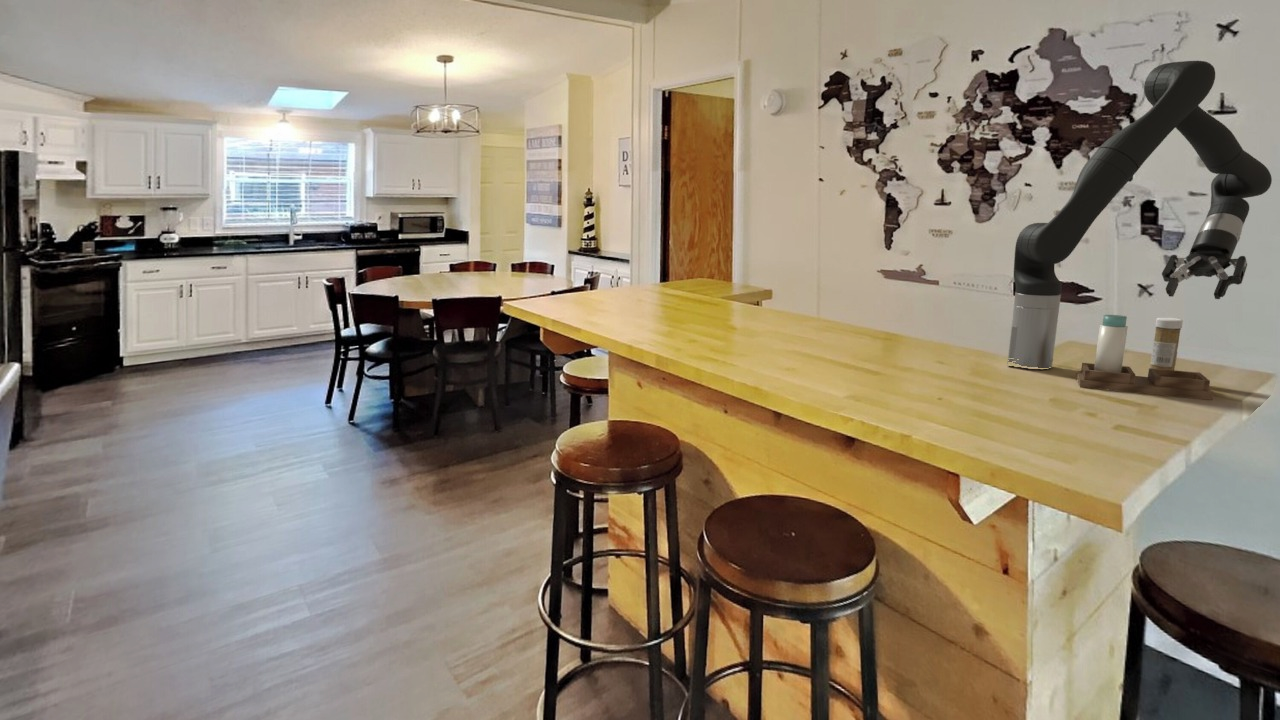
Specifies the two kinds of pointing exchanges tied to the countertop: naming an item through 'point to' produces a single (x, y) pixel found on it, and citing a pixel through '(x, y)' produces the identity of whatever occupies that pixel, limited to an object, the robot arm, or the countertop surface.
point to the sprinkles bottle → (1166, 343)
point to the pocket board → (1147, 382)
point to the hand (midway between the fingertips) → (1192, 295)
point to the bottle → (1111, 344)
